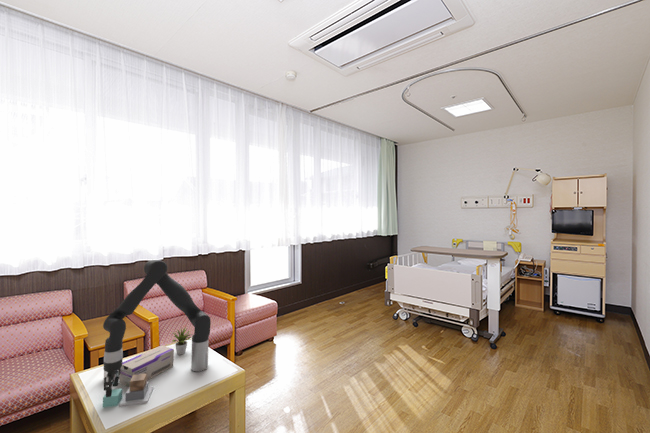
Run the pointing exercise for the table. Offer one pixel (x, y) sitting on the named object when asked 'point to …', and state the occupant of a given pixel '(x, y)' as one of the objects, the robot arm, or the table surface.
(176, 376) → the table surface
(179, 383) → the table surface
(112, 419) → the table surface
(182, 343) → the house plant
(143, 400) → the plate
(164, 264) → the robot arm
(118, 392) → the teal block
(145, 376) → the walnut block
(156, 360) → the surgical sutures box
